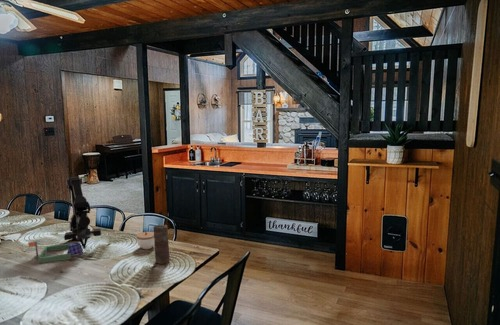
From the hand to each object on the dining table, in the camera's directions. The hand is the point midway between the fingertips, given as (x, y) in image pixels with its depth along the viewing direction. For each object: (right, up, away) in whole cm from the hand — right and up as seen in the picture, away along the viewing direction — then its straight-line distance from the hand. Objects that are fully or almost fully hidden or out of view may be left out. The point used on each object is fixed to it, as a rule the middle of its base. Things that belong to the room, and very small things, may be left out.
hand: (84, 248), depth 198 cm
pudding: (-4, -2, -2) cm, 5 cm away
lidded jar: (+34, -1, +5) cm, 35 cm away
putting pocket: (-16, -3, -6) cm, 17 cm away
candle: (+49, -4, -15) cm, 51 cm away
